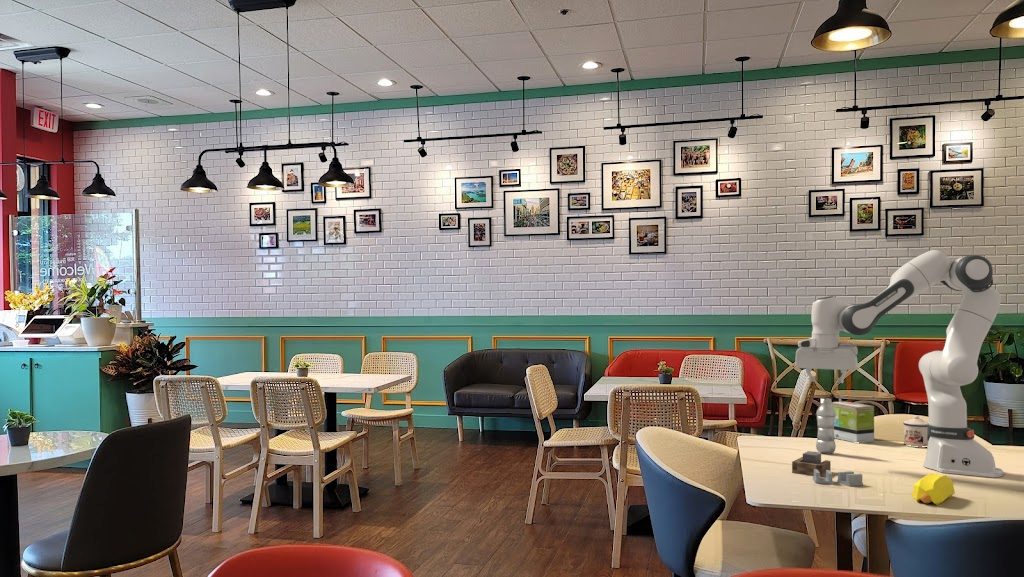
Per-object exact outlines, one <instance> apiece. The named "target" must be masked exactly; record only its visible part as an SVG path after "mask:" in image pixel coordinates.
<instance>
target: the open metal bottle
mask: <svg viewBox="0 0 1024 577" xmlns="http://www.w3.org/2000/svg"><path fill="white" fill-rule="evenodd" d="M831 402H832V398H827V397H821V398H820V401H819V403H820V406H819V407H817V410H816V421H817V438H816V443H815V448H816V449H815V450H817V451H816V452H819V453H821V454H822V453H823V454H826V455H827V454H833V453H834V452H836V447H837V446H836V441H835V438H834V423H835V416H836V413H835V410H834V409H833V408H832V406H831V404H832V403H831Z"/></svg>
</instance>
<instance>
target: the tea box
mask: <svg viewBox="0 0 1024 577" xmlns="http://www.w3.org/2000/svg"><path fill="white" fill-rule="evenodd" d="M831 403H832V404H831V406H832V408H833V409H834V410H835V413H836V416H835V423H834V439H837V440H842V439H843V440H842V441H846V442H849V443H850V442H851V443H854V442H865V443H874V442H875V406H874V405H868V404H863V403H858V402H857V403H856V402H850V401H833V402H832V401H831Z"/></svg>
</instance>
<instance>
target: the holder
mask: <svg viewBox="0 0 1024 577" xmlns="http://www.w3.org/2000/svg"><path fill="white" fill-rule="evenodd" d="M814 469H817V470H818V471H819V472H820V477H821V478H823V477H824V476H826V470H830V472H831V473H832V471H831V460H829V459H825V460H823V461H821V463H819V464H813V463H805V462H803V456H801V457H799V458H797V459H795V460H793V461H792V462H791V473H793V474H798V475H804V476H805V475H806V476H811V477H814Z"/></svg>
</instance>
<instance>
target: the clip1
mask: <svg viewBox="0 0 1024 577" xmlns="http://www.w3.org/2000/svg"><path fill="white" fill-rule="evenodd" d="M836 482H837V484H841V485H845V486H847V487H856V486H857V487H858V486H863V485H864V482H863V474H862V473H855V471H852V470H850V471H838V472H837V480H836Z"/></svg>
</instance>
